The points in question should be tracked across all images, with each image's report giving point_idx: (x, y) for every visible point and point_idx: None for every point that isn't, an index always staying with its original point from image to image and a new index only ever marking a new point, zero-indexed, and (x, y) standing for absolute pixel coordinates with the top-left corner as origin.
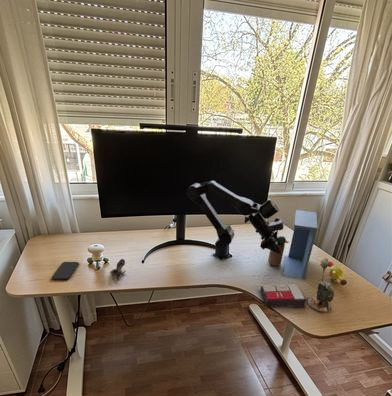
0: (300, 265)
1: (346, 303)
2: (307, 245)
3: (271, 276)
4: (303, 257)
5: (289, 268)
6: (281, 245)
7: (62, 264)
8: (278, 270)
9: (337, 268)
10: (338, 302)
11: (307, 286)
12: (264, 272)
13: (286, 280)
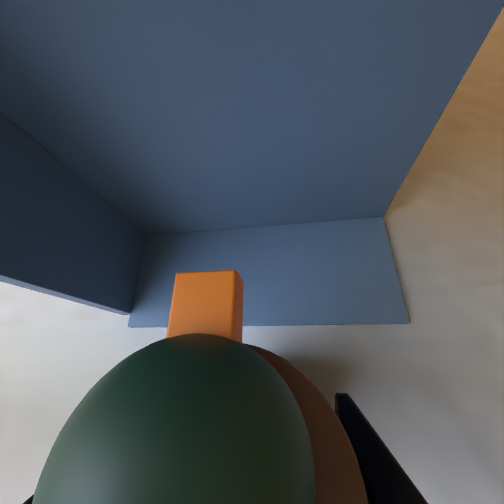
0: (226, 237)
1: (483, 60)
2: (169, 113)
3: (476, 416)
4: (166, 218)
5: (289, 291)
6: (307, 410)
7: None
8: (341, 364)
9: None
10: (500, 78)
11: (446, 186)
12: (446, 493)
13: (458, 297)
